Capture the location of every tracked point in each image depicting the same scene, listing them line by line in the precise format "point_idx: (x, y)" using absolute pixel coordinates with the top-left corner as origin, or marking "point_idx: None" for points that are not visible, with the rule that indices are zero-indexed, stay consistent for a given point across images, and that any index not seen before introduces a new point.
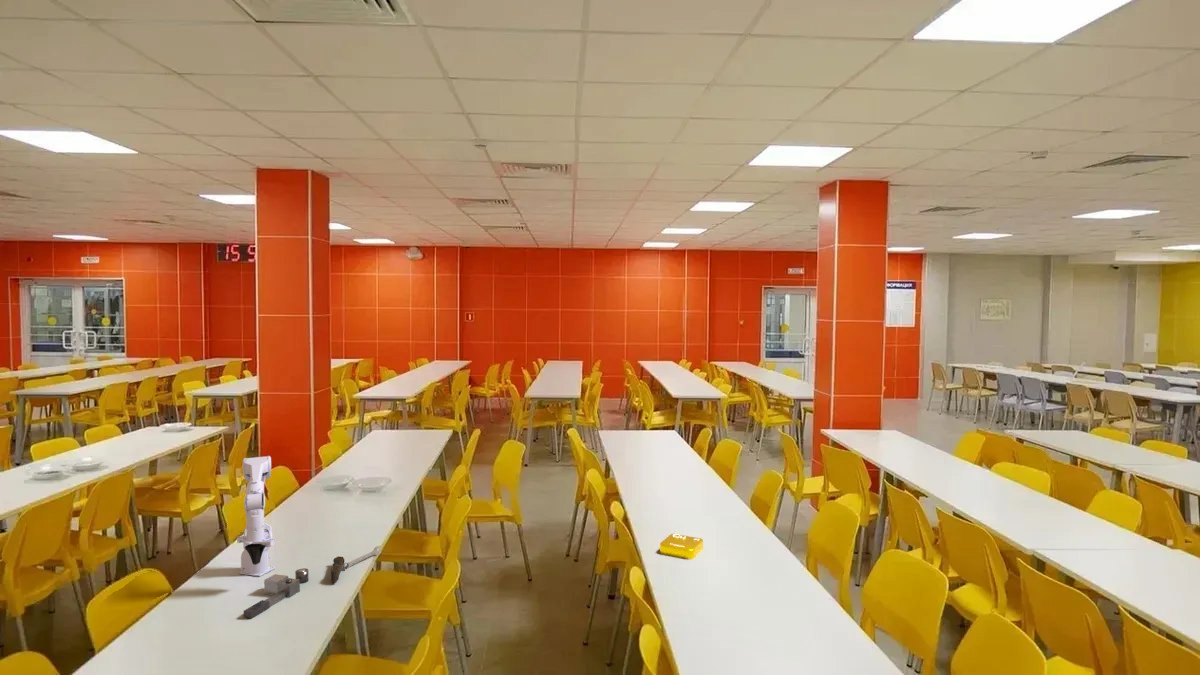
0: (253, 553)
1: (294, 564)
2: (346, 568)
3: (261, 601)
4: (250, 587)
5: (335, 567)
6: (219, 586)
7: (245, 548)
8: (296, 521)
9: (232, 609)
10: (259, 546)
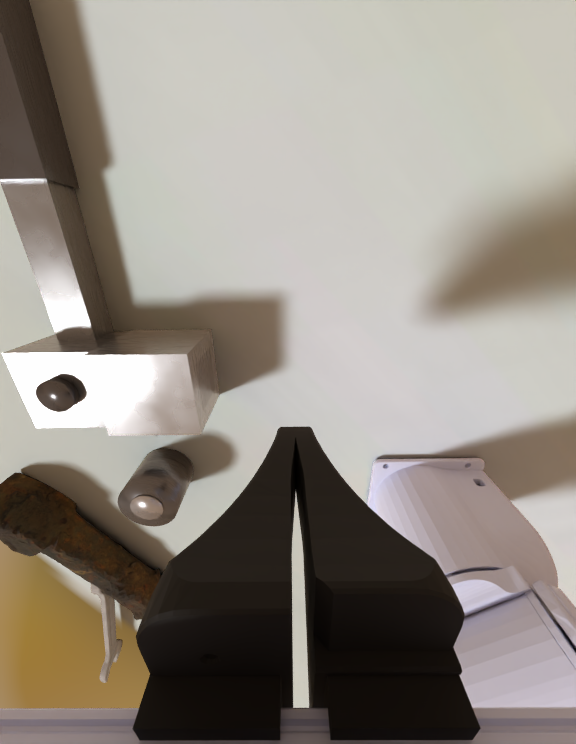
0: (273, 503)
1: None
2: None
3: (27, 156)
4: (337, 369)
5: (63, 559)
6: (502, 338)
7: (425, 561)
8: None
9: (215, 93)
10: (148, 657)
